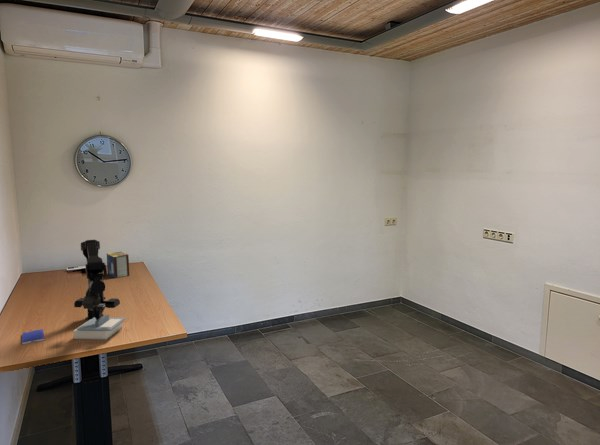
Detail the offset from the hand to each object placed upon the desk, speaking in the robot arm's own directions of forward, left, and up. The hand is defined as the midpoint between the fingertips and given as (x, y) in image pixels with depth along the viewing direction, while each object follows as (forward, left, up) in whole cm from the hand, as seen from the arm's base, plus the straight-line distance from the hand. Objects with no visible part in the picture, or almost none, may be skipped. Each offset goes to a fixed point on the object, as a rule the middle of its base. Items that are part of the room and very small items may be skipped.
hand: (98, 320), depth 188 cm
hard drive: (+6, -27, -7) cm, 29 cm away
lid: (0, +2, -2) cm, 3 cm away
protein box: (-105, -42, -6) cm, 113 cm away
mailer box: (0, 0, -6) cm, 6 cm away
